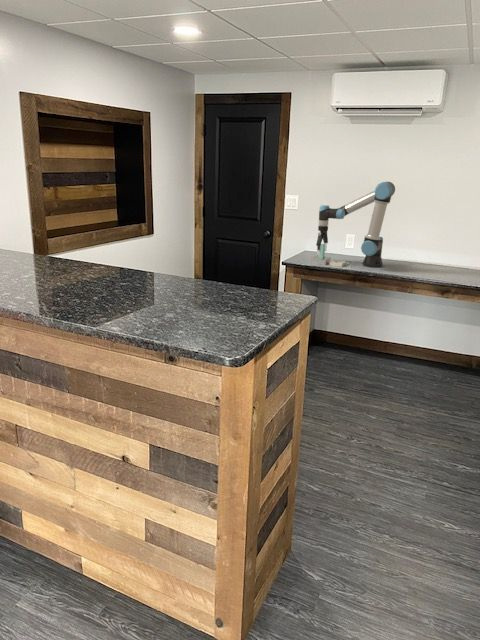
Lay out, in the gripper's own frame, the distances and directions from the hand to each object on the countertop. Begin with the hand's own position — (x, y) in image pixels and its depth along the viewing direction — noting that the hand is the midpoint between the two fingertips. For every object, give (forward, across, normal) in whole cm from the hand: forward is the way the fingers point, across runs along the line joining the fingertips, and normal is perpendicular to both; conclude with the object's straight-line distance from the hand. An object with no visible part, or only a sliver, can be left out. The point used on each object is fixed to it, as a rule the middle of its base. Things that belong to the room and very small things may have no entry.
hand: (321, 252), depth 400 cm
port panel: (+8, 0, 0) cm, 8 cm away
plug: (+8, 0, 0) cm, 8 cm away
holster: (+8, 0, +14) cm, 16 cm away
